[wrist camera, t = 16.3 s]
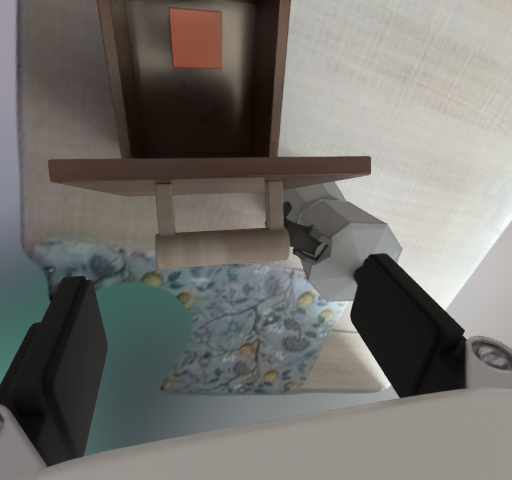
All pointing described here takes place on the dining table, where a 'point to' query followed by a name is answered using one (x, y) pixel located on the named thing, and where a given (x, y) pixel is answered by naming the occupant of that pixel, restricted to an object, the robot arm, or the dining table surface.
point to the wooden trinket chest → (196, 80)
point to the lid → (210, 182)
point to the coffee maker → (333, 238)
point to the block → (196, 38)
